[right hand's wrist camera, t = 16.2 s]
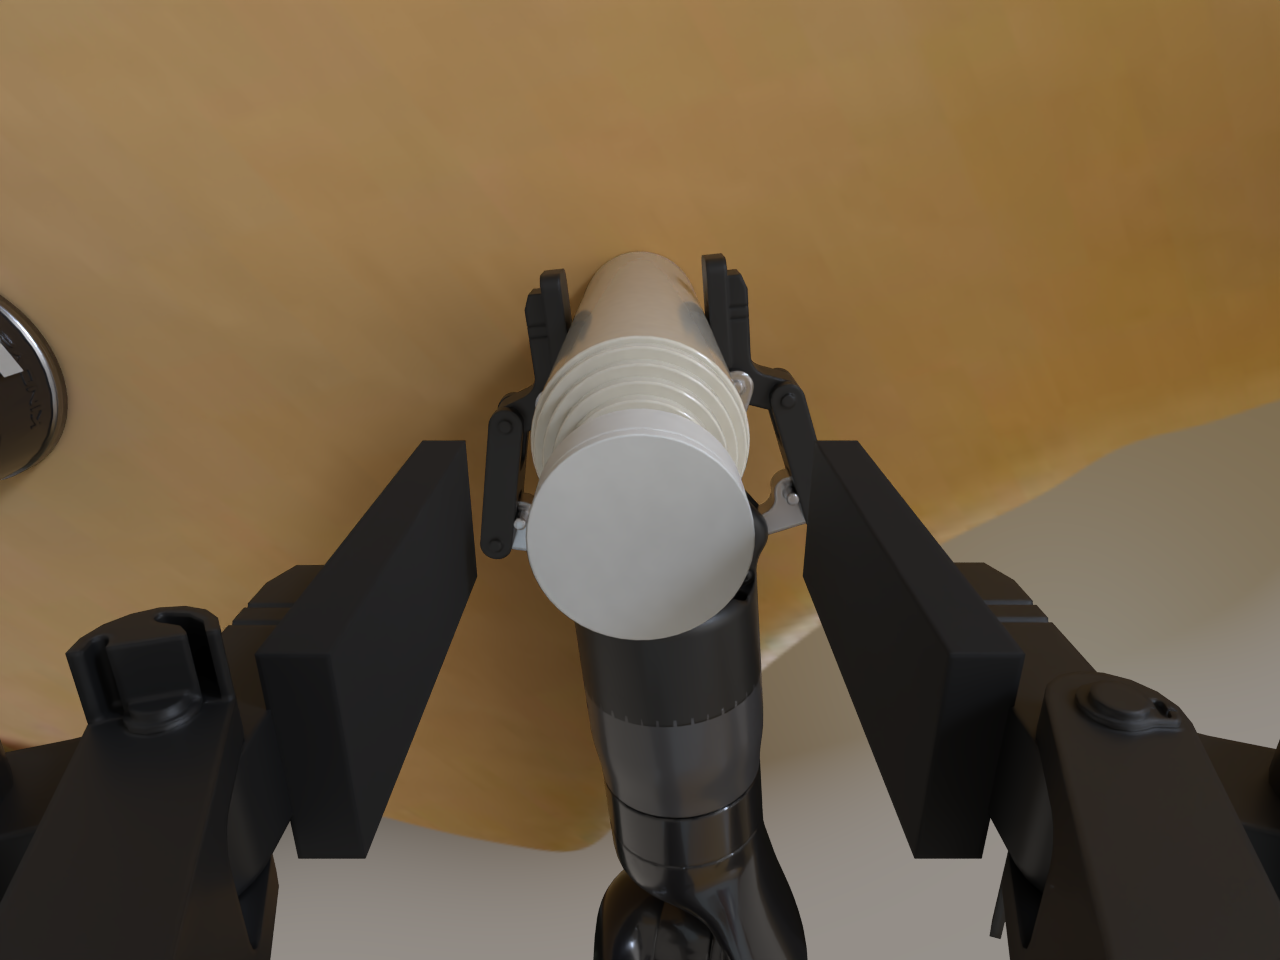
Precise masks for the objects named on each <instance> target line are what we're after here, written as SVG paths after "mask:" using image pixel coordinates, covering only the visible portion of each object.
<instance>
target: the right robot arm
mask: <svg viewBox="0 0 1280 960" xmlns="http://www.w3.org/2000/svg"><path fill="white" fill-rule="evenodd" d="M476 578H477V569H476V557H475V546H474V534H473V523H472V511H471V500H470V488H469V477H468V465H467V454H466V443H465V441H422V442H421V443H420V445H419V446H418V447H417V448H416V450H415V451H414V452H413V454H412V455H411V456H410V457H409V459H408V460H407V461H406V462H405V464H404V465H403V466H402V467H401V469H400V470H399V471H398V473H397V474H396V475H395V476H394V478H393V479H392V480H391V481H390V483H389V484H388V485H387V487H386V488H385V489H384V490H383V492H382V493H381V494H380V495H379V497H378V498H377V499H376V500H375V502H374V503H373V504H372V506H371V507H370V508H369V509H368V511H367V512H366V513H365V514H364V516H363V517H362V518H361V520H360V521H359V522H358V523H357V525H356V526H355V527H354V528H353V530H352V531H351V532H350V533H349V535H348V536H347V537H346V539H345V540H344V541H343V542H342V544H341V545H340V546H339V547H338V549H337V550H336V551H335V553H334V554H333V555H332V556H331V558H330V559H329V560H328V561H327V563H326V564H325V565H296V566H294V567H293V568H291V569H289V570H288V571H286V572H284V573H282V574H281V575H279V576H277V577H276V578H274V579H272V580H271V581H269V582H267V583H266V584H265V585H264V586H263V587H262V588H261V589H260V591H259V592H258V593H257V594H256V595H255V596H254V597H253V598H252V600H251V601H250V602H249V603H248V608H244V609H243V610H242V611H241V612H240V613H239V614H238V615H237V616H236V617H235V619H234V620H233V623H232V625H228V626H227V628H226V629H225V630H224V631H223V632H222V633H221V629H220V625H219V620H218V617H216V616H215V615H213V614H212V613H210V612H209V611H207V610H206V609H200V608H194V607H188V606H178V607H161V608H156V609H151V610H147V611H142V612H138V613H133V614H130V615H127V616H124V617H122V618H119V619H117V620H114V621H111V622H109V623H106V624H103V625H102V626H100V627H98V628H97V629H95V630H93V631H92V632H90V633H88V634H86V635H85V636H83V637H81V638H80V639H79V640H78V641H77V642H76V643H75V644H74V645H73V646H72V647H71V648H70V649H69V650H68V651H67V652H66V653H65V654H66V657H67V660H68V663H69V667H70V670H71V673H72V676H73V679H74V682H75V685H76V688H77V691H78V695H79V698H80V701H81V704H82V707H83V710H84V713H85V716H86V720H87V723H88V725H87V727H86V729H85V732H84V734H83V736H82V737H79V738H75V739H71V740H66V741H61V742H56V743H51V744H46V745H41V746H36V747H31V748H26V749H21V750H16V751H11V752H6V753H5V751H4V748H3V746H2V743H1V740H0V960H270V957H271V948H272V940H273V931H274V923H275V914H276V906H277V897H278V888H279V884H278V878H277V872H276V867H275V863H274V858H273V852H274V850H275V848H276V846H277V844H278V842H279V840H280V838H281V837H282V835H283V833H284V831H285V829H286V827H287V825H288V824H289V822H291V827H292V831H293V836H294V840H295V845H296V850H297V854H298V858H299V859H309V858H311V859H317V858H319V859H320V858H321V859H331V858H332V859H335V858H336V859H341V858H342V859H365V858H366V856H367V853H368V851H369V848H370V846H371V843H372V841H373V838H374V836H375V833H376V831H377V828H378V826H379V823H380V821H381V818H382V815H383V813H384V810H385V808H386V805H387V803H388V800H389V798H390V795H391V793H392V790H393V788H394V785H395V783H396V780H397V778H398V775H399V773H400V770H401V767H402V765H403V762H404V760H405V757H406V755H407V752H408V750H409V747H410V745H411V742H412V740H413V737H414V735H415V732H416V730H417V727H418V725H419V722H420V719H421V717H422V714H423V712H424V709H425V707H426V704H427V702H428V699H429V697H430V694H431V692H432V689H433V687H434V684H435V682H436V679H437V676H438V674H439V671H440V669H441V666H442V664H443V661H444V659H445V656H446V654H447V651H448V649H449V646H450V644H451V641H452V639H453V636H454V634H455V631H456V628H457V626H458V623H459V621H460V618H461V616H462V613H463V611H464V608H465V606H466V603H467V601H468V598H469V596H470V593H471V591H472V588H473V586H474V583H475V580H476ZM803 578H804V580H805V583H806V586H807V588H808V591H809V593H810V596H811V598H812V601H813V603H814V606H815V608H816V611H817V613H818V616H819V618H820V621H821V623H822V626H823V628H824V631H825V634H826V636H827V639H828V641H829V643H830V646H831V649H832V651H833V654H834V656H835V659H836V661H837V664H838V666H839V669H840V671H841V674H842V676H843V679H844V682H845V684H846V687H847V689H848V692H849V694H850V697H851V699H852V702H853V704H854V707H855V709H856V712H857V714H858V717H859V719H860V722H861V725H862V727H863V730H864V732H865V735H866V737H867V740H868V742H869V745H870V747H871V750H872V752H873V755H874V757H875V760H876V762H877V765H878V767H879V770H880V773H881V775H882V777H883V780H884V783H885V785H886V788H887V790H888V793H889V795H890V798H891V800H892V803H893V805H894V808H895V810H896V813H897V815H898V818H899V820H900V823H901V826H902V828H903V831H904V833H905V836H906V838H907V841H908V843H909V846H910V848H911V851H912V853H913V856H914V858H915V859H917V858H918V859H933V858H934V859H937V858H938V859H943V858H944V859H949V858H950V859H958V858H959V859H961V858H962V859H975V858H976V859H981V858H982V854H983V850H984V845H985V840H986V836H987V831H988V826H989V822H990V818H991V820H992V821H993V823H994V825H995V827H996V829H997V831H998V833H999V834H1000V836H1001V838H1002V840H1003V842H1004V844H1005V846H1006V848H1007V849H1008V854H1007V858H1006V863H1005V867H1004V871H1003V876H1002V880H1001V884H1000V889H999V893H998V897H997V902H996V906H995V910H994V915H993V919H992V925H991V931H990V936H991V937H995V938H999V939H1001V935H1002V931H1003V927H1004V923H1005V922H1006V929H1007V938H1008V946H1009V955H1010V960H1280V740H1279V743H1278V746H1277V749H1273V748H1268V747H1262V746H1257V745H1252V744H1247V743H1242V742H1237V741H1232V740H1227V739H1222V738H1217V737H1212V736H1207V735H1203V734H1199V733H1197V732H1196V730H1195V728H1194V726H1193V724H1192V722H1191V721H1190V720H1189V719H1188V718H1187V716H1186V715H1185V714H1184V713H1183V711H1182V710H1181V709H1180V708H1179V707H1178V706H1177V705H1176V704H1174V703H1173V702H1171V701H1170V700H1168V699H1167V698H1165V697H1164V696H1163V695H1161V694H1160V693H1158V692H1157V691H1155V690H1152V689H1150V688H1148V687H1146V686H1143V685H1141V684H1139V683H1137V682H1134V681H1132V680H1129V679H1125V678H1122V677H1118V676H1114V675H1110V674H1106V673H1099V672H1096V671H1095V670H1094V668H1093V667H1092V666H1091V665H1090V664H1089V663H1088V662H1087V661H1086V660H1085V658H1084V657H1083V656H1082V655H1081V654H1080V653H1079V652H1078V651H1077V650H1076V648H1075V647H1074V646H1073V645H1072V644H1071V643H1070V642H1069V641H1068V640H1067V638H1066V637H1065V636H1064V635H1063V634H1062V633H1061V632H1060V631H1059V630H1058V628H1057V627H1056V626H1055V625H1054V624H1053V623H1052V622H1048V617H1047V616H1046V615H1045V614H1044V613H1043V612H1042V611H1041V610H1040V608H1039V607H1038V606H1037V605H1033V601H1032V600H1031V598H1030V597H1029V596H1028V595H1027V594H1026V593H1025V592H1024V591H1023V590H1022V588H1021V587H1020V586H1019V585H1018V584H1017V583H1016V582H1015V581H1014V580H1013V579H1011V578H1009V577H1008V576H1006V575H1004V574H1002V573H1001V572H999V571H997V570H996V569H994V568H992V567H991V566H989V565H987V564H985V563H953V561H952V560H951V559H950V558H949V556H948V555H947V554H946V553H945V551H944V550H943V549H942V547H941V546H940V545H939V544H938V542H937V541H936V540H935V539H934V537H933V536H932V535H931V533H930V532H929V531H928V530H927V528H926V527H925V526H924V525H923V523H922V522H921V521H920V520H919V518H918V517H917V516H916V514H915V513H914V512H913V511H912V509H911V508H910V507H909V506H908V504H907V503H906V502H905V500H904V499H903V498H902V497H901V495H900V494H899V493H898V492H897V490H896V489H895V488H894V487H893V485H892V484H891V483H890V481H889V480H888V479H887V478H886V476H885V475H884V474H883V473H882V471H881V470H880V469H879V467H878V466H877V465H876V464H875V462H874V461H873V460H872V459H871V457H870V456H869V455H868V454H867V452H866V451H865V450H864V448H863V447H862V446H861V445H860V443H859V442H858V441H815V442H814V454H813V465H812V477H811V488H810V500H809V511H808V523H807V534H806V546H805V557H804V569H803Z"/></svg>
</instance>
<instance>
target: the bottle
mask: <svg viewBox="0 0 1280 960" xmlns="http://www.w3.org/2000/svg"><path fill="white" fill-rule="evenodd" d="M643 408H644V409H653V410H661V411H665V412H669V413H674V414H677V415H679V416H682V417H684V418H687V419H689V420H691V421H692V422H694V423H696V424H698V425H700V426H701V427H702V428H704V429H705V430H707V431H708V432H709V433H711V434H712V435H713V436H714V437H715V438H716V439H717V440H718V441H719V442H720V443H721V444H722V445H723V447H724V448H725V449H726V450H727V452H728V453H729V455H730V456H731V458H732V460H733V461H734V463H735V465H736V467H737V470H738V472H739V474H740V477H741V479H742V476H743V473H744V471H745V468H746V464H747V459H748V455H749V445H750V434H749V424H748V419H747V414H746V411H745V408H744V405H743V402H742V399H741V397H740V395H739V392H738V390H737V388H736V385H735V383H734V381H733V379H732V376H731V374H730V372H729V369H728V367H727V365H726V362H725V360H724V358H723V356H722V353H721V351H720V349H719V346H718V344H717V342H716V339H715V337H714V335H713V332H712V330H711V328H710V326H709V323H708V321H707V319H706V316H705V314H704V312H703V309H702V307H701V305H700V303H699V300H698V298H697V296H696V293H695V291H694V289H693V286H692V284H691V282H690V280H689V279H688V277H687V276H686V274H685V273H684V272H683V271H682V270H681V269H680V268H679V267H678V266H677V265H676V264H675V263H674V262H672V261H670V260H669V259H667V258H665V257H663V256H661V255H658V254H654V253H650V252H630V253H626V254H622V255H620V256H617V257H615V258H613V259H611V260H610V261H608V262H607V263H605V264H604V265H603V266H602V267H601V268H600V269H599V270H598V271H597V272H596V273H595V275H594V276H593V277H592V279H591V281H590V282H589V284H588V287H587V289H586V291H585V294H584V296H583V298H582V301H581V303H580V305H579V308H578V310H577V312H576V315H575V317H574V319H573V322H572V324H571V326H570V329H569V331H568V333H567V336H566V338H565V340H564V342H563V345H562V347H561V349H560V352H559V354H558V356H557V359H556V361H555V363H554V366H553V368H552V370H551V373H550V375H549V377H548V380H547V382H546V384H545V387H544V389H543V391H542V394H541V396H540V398H539V401H538V403H537V406H536V408H535V412H534V416H533V420H532V427H531V452H532V458H533V463H534V466H535V469H536V473H537V475H538V478H539V479H540V476H541V474H542V471H543V468H544V466H545V464H546V462H547V461H548V459H549V457H550V455H551V454H552V453H553V451H554V450H555V449H556V447H557V446H558V445H559V444H560V443H561V442H562V441H563V440H564V439H565V438H566V437H567V436H568V435H569V434H570V433H571V432H573V431H574V430H575V429H577V428H578V427H579V426H581V425H583V424H585V423H586V422H588V421H590V420H592V419H594V418H597V417H599V416H601V415H604V414H608V413H611V412H615V411H620V410H627V409H643Z"/></svg>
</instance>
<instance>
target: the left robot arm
mask: <svg viewBox="0 0 1280 960" xmlns="http://www.w3.org/2000/svg"><path fill="white" fill-rule="evenodd" d="M702 276H703V291H704V306H705V316H706V319H707V321H708V323H709V326H710V328H711V330H712V332H713V335H714V337H715V339H716V342H717V344H718V346H719V349H720V351H721V353H722V356H723V358H724V360H725V362H726V365H727V367H728V369H729V372H730V374H731V376H732V379H733V381H734V383H735V385H736V388H737V390H738V392H739V395H740V397H741V399H742V402H743V405H744V408H745V411H746V412H747V409H748V406H749V405H752V406H756V407H760V408H764V409H768V411H769V414H770V417H771V421H772V424H773V427H774V431H775V434H776V437H777V441H778V444H779V448H780V451H781V454H782V458H783V461H784V464H785V468H786V469H783V470H780V471H778V472H777V473H776V474H775V475H774V476H773V477H772V479H771V494H770V497H769V498H768V500H767V501H766V502H764V503H763V504H761V505H758V504H757V503H756V501H755V500H754V499H753V498H752V497H751V496H750V495H749V494H748V493H747V491H746V490H745V492H746V496H747V499H748V502H749V505H750V508H751V512H752V516H753V520H754V529H755V545H754V552H753V557H752V562H751V565H750V568H749V571H748V573H747V575H746V577H745V579H744V581H743V583H742V585H741V587H740V588H739V590H738V591H737V593H736V594H735V596H734V597H733V598H732V599H731V600H730V601H729V602H728V604H727V605H726V606H725V607H724V608H723V609H722V610H720V611H719V612H718V613H717V614H716V615H715V616H713V617H712V618H710V619H709V620H707V621H706V622H704V623H703V624H701V625H699V626H697V627H695V628H693V629H691V630H689V631H686V632H683V633H681V634H678V635H674V636H670V637H666V638H661V639H653V640H628V639H620V638H615V637H610V636H606V635H603V634H600V633H597V632H594V631H592V630H590V629H588V628H586V627H583V626H581V625H580V624H578V623H576V622H575V626H576V633H577V640H578V646H579V653H580V660H581V666H582V673H583V680H584V687H585V693H586V700H587V706H588V713H589V719H590V726H591V731H592V736H593V740H594V744H595V747H596V750H597V753H598V756H599V759H600V762H601V765H602V770H603V775H604V782H605V789H606V796H607V803H608V809H609V816H610V821H611V829H612V835H613V841H614V845H615V849H616V853H617V856H618V858H619V861H620V863H621V865H622V867H623V868H624V870H623V871H622V872H621V873H620V874H619V875H618V876H617V877H616V878H615V879H614V880H613V882H612V883H611V884H610V886H609V887H608V889H607V890H606V892H605V894H604V897H603V899H602V901H601V905H600V908H599V912H598V916H597V923H596V932H595V942H594V959H593V960H807V948H806V941H805V935H804V930H803V925H802V921H801V918H800V914H799V911H798V908H797V905H796V902H795V899H794V896H793V894H792V891H791V889H790V886H789V884H788V882H787V880H786V877H785V875H784V873H783V871H782V869H781V866H780V864H779V862H778V860H777V857H776V855H775V853H774V850H773V847H772V844H771V842H770V839H769V836H768V833H767V831H766V828H765V825H764V821H763V810H762V791H761V771H760V745H761V738H762V729H763V696H762V678H761V654H760V634H759V613H758V593H757V572H756V568H757V562H758V558H759V556H760V553H761V551H762V550H763V548H764V546H765V544H766V542H767V539H768V535H769V534H772V533H775V532H779V531H782V530H785V529H789V528H792V527H795V526H798V525H802V524H805V523H806V524H807V523H808V511H809V500H810V488H811V477H812V465H813V454H814V442H815V441H817V438H816V435H815V431H814V428H813V424H812V420H811V417H810V413H809V409H808V406H807V402H806V399H805V395H804V393H803V391H802V390H801V388H800V387H799V385H798V384H797V383H796V381H795V380H794V378H793V377H792V376H791V374H790V373H789V372H788V371H787V370H785V369H782V368H774V369H772V368H768V367H764V366H760V365H758V364H756V363H754V362H753V361H752V360H751V354H750V332H749V310H748V289H747V286H746V284H745V282H744V280H743V278H742V275H741V274H740V273H739V272H738V271H737V269H732V270H727V266H726V259H725V257H724V256H723V255H722V253H720V254H710V255H702ZM525 315H526V322H527V327H528V328H527V329H528V335H529V342H530V348H531V355H532V361H533V368H534V374H535V383H534V384H533V385H531V386H530V387H528V388H526V389H524V390H522V391H520V392H518V393H517V392H512V393H508V394H506V395H505V396H504V397H503V398H502V400H501V401H500V403H499V405H498V409H497V410H496V411H495V412H494V413H493V415H492V417H491V418H490V421H489V426H488V441H487V455H486V469H485V483H484V498H483V512H482V526H481V541H480V546H481V549H482V551H483V553H484V554H485V555H486V556H488V557H490V558H493V559H502V558H504V557H506V556H507V555H508V554H509V553H510V552H511V549H516V550H524V551H527V548H526V524H527V519H528V515H529V510H530V507H531V504H532V501H533V498H534V496H533V495H531V494H529V493H523V491H524V480H525V469H526V458H527V447H528V435H529V431H530V430H531V427H532V420H533V416H534V412H535V408H536V406H537V403H538V401H539V398H540V396H541V394H542V391H543V389H544V387H545V384H546V382H547V380H548V377H549V375H550V373H551V370H552V368H553V366H554V363H555V361H556V359H557V356H558V354H559V352H560V349H561V347H562V345H563V342H564V340H565V338H566V336H567V333H568V331H569V329H570V326H571V324H572V318H571V310H570V303H569V295H568V287H567V280H566V274H565V270H564V269H556V270H546V271H544V272H543V273H542V274H541V275H540V288H537V289H533V290H532V291H531V292H530V293H529V295H528V298H527V302H526V307H525ZM66 418H67V392H66V386H65V382H64V378H63V375H62V372H61V368H60V366H59V364H58V361H57V359H56V357H55V355H54V353H53V351H52V350H51V348H50V346H49V345H48V343H47V341H46V340H45V338H44V337H43V336H42V334H41V333H40V332H39V330H38V329H37V328H36V327H35V326H34V324H33V323H32V322H31V321H30V320H29V319H28V318H27V317H26V316H25V315H24V314H23V313H22V312H21V311H20V310H19V309H17V308H16V307H15V306H14V305H13V304H12V303H10V302H9V301H8V300H6V299H5V298H3V297H2V296H1V295H0V480H3V479H7V478H9V477H12V476H15V475H17V474H19V473H21V472H23V471H25V470H27V469H29V468H31V467H33V466H35V465H36V464H38V463H39V462H40V461H42V460H43V459H44V458H45V457H46V456H48V455H49V453H50V452H51V451H52V450H53V449H54V447H55V446H56V444H57V443H58V441H59V439H60V437H61V435H62V433H63V430H64V427H65V423H66Z"/></svg>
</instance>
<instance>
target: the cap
mask: <svg viewBox="0 0 1280 960" xmlns="http://www.w3.org/2000/svg"><path fill="white" fill-rule="evenodd" d="M754 545H755V529H754V520H753V516H752V512H751V508H750V505H749V502H748V499H747V496H746V492H745V489H744V486H743V483H742V480H741V477H740V474H739V472H738V470H737V467H736V465H735V463H734V461H733V460H732V458H731V456H730V455H729V453H728V452H727V450H726V449H725V448H724V447H723V445H722V444H721V443H720V442H719V441H718V440H717V439H716V438H715V437H714V436H713V435H712V434H711V433H709V432H708V431H707V430H705V429H704V428H702V427H701V426H700V425H698V424H696V423H694V422H692V421H691V420H689V419H687V418H684V417H682V416H679V415H677V414H674V413H669V412H665V411H661V410H653V409H644V408H643V409H627V410H620V411H615V412H611V413H608V414H604V415H601V416H599V417H597V418H594V419H592V420H590V421H588V422H586V423H585V424H583V425H581V426H579V427H578V428H577V429H575V430H574V431H573V432H571V433H570V434H569V435H568V436H567V437H566V438H565V439H564V440H563V441H562V442H561V443H560V444H559V445H558V446H557V447H556V449H555V450H554V451H553V453H552V454H551V455H550V457H549V459H548V461H547V462H546V464H545V466H544V468H543V471H542V474H541V476H540V479H539V482H538V485H537V488H536V491H535V494H534V498H533V501H532V504H531V507H530V510H529V515H528V519H527V524H526V548H527V554H528V559H529V563H530V566H531V569H532V571H533V574H534V577H535V578H536V580H537V582H538V584H539V586H540V587H541V589H542V590H543V592H544V593H545V594H546V596H547V597H548V599H549V600H550V601H551V602H552V603H553V604H554V605H555V606H556V607H557V608H558V609H559V610H560V611H561V612H563V613H564V614H565V615H566V616H567V617H569V618H570V619H572V620H573V621H575V622H576V623H578V624H580V625H581V626H583V627H586V628H588V629H590V630H592V631H594V632H597V633H600V634H603V635H606V636H610V637H615V638H620V639H628V640H653V639H661V638H666V637H670V636H674V635H678V634H681V633H683V632H686V631H689V630H691V629H693V628H695V627H697V626H699V625H701V624H703V623H704V622H706V621H707V620H709V619H710V618H712V617H713V616H715V615H716V614H717V613H718V612H719V611H720V610H722V609H723V608H724V607H725V606H726V605H727V604H728V602H729V601H730V600H731V599H732V598H733V597H734V596H735V594H736V593H737V591H738V590H739V588H740V587H741V585H742V583H743V581H744V579H745V577H746V575H747V573H748V571H749V568H750V565H751V562H752V557H753V552H754Z"/></svg>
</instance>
